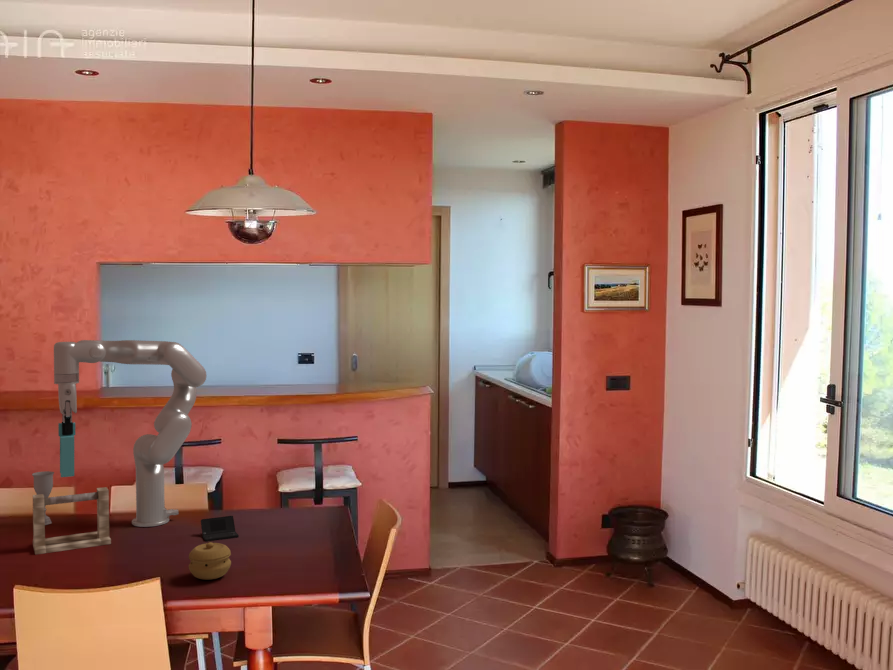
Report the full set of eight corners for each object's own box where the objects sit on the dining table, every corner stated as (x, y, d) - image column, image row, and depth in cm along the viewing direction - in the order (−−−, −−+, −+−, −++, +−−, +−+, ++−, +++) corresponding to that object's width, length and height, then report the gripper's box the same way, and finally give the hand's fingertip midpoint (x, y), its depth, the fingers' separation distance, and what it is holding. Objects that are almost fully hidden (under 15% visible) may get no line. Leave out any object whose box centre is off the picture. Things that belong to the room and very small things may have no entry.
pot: (237, 578, 227) (237, 544, 227) (196, 587, 220) (195, 551, 220) (223, 567, 237) (222, 534, 236) (183, 575, 230) (182, 541, 230)
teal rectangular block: (74, 471, 270) (74, 421, 269) (76, 476, 262) (76, 424, 261) (58, 472, 268) (58, 422, 267) (59, 477, 260) (59, 425, 259)
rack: (105, 534, 270) (105, 485, 269) (110, 543, 260) (110, 492, 259) (32, 544, 259) (31, 492, 258) (35, 554, 249) (34, 500, 248)
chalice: (59, 521, 287) (58, 471, 286) (48, 526, 280) (47, 475, 279) (40, 520, 287) (39, 471, 287) (28, 525, 281) (27, 475, 280)
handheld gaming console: (208, 538, 261) (205, 510, 266) (200, 547, 265) (197, 520, 270) (241, 537, 267) (238, 510, 273) (234, 546, 272) (230, 519, 277)
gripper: (80, 380, 258) (81, 436, 259) (77, 376, 273) (78, 430, 273) (54, 381, 255) (55, 438, 256) (53, 377, 269) (53, 431, 270)
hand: (67, 433), depth 264 cm, fingers closed on teal rectangular block
